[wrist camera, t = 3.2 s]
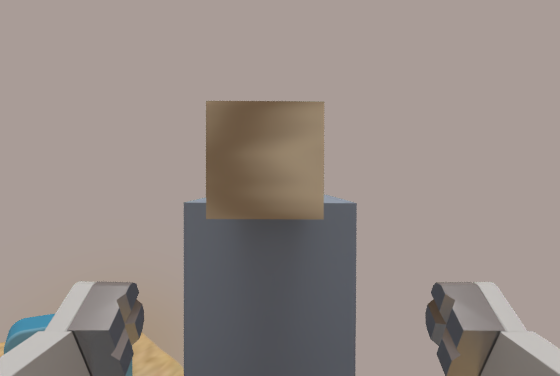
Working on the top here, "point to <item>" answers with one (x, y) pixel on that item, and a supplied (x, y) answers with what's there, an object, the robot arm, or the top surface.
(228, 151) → the maple rod
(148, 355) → the top surface
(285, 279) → the slate block
